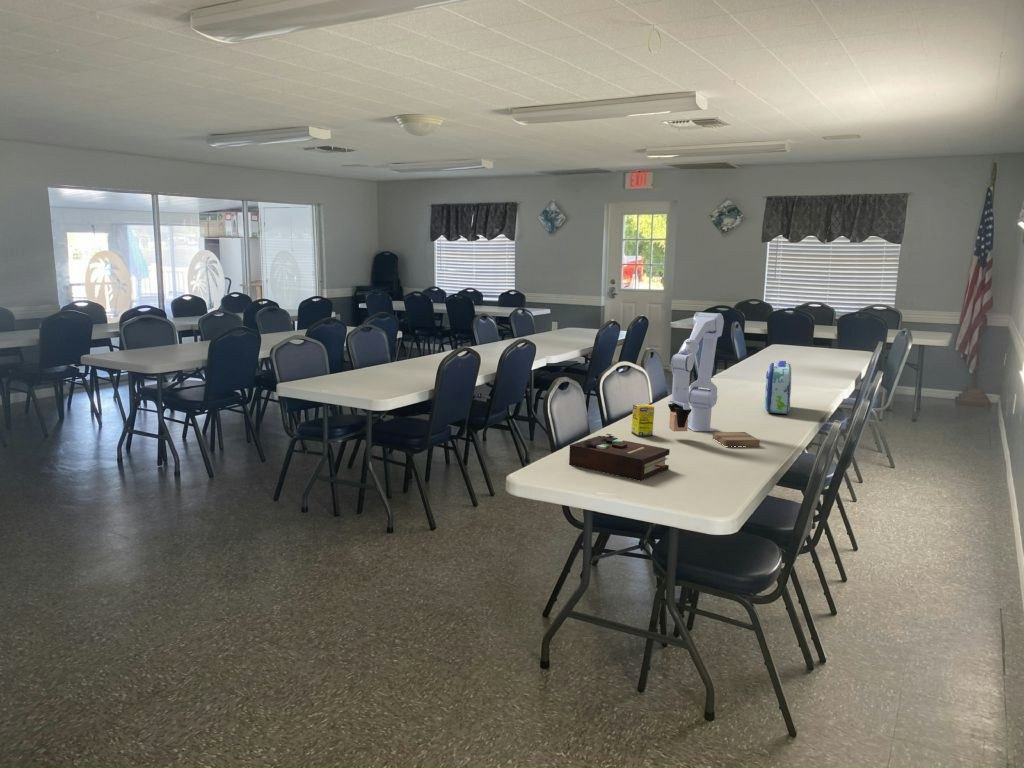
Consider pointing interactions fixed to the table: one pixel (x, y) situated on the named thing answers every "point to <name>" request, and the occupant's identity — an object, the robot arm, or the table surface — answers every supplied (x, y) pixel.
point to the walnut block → (736, 439)
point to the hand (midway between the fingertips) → (678, 425)
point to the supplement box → (642, 420)
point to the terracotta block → (674, 425)
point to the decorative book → (619, 457)
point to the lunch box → (778, 388)
